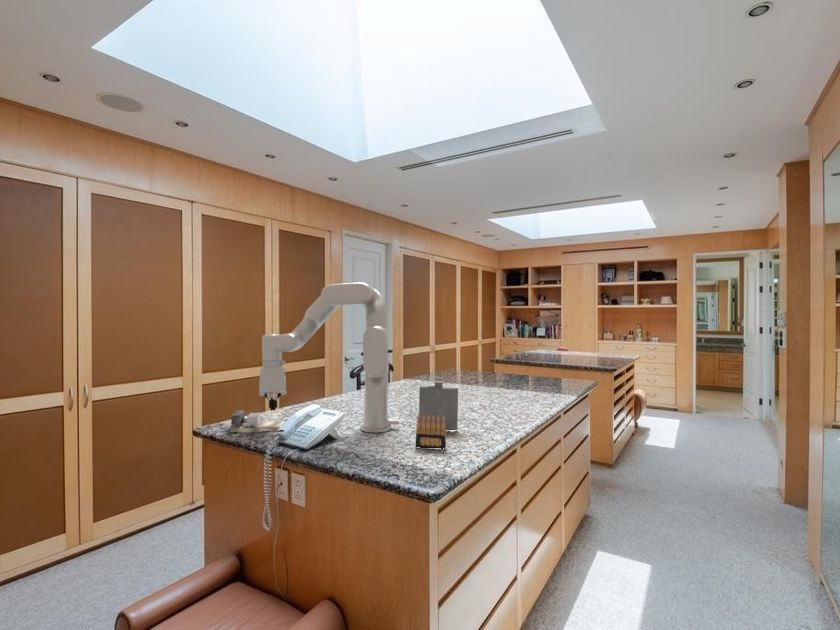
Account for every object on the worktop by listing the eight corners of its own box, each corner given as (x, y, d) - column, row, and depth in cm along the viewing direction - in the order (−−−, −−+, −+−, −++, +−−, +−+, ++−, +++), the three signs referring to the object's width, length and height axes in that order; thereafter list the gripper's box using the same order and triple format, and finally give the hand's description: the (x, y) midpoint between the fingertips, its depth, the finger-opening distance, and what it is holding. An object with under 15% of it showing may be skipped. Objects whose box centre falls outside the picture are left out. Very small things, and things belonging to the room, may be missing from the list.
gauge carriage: (260, 422, 178) (260, 412, 178) (256, 428, 168) (256, 418, 168) (243, 422, 176) (243, 413, 176) (238, 428, 167) (238, 418, 167)
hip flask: (457, 430, 177) (458, 381, 177) (456, 433, 173) (457, 383, 173) (419, 428, 180) (420, 380, 180) (417, 430, 176) (418, 381, 176)
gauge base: (287, 424, 181) (287, 409, 181) (284, 431, 171) (284, 414, 171) (236, 426, 177) (236, 410, 177) (230, 432, 167) (231, 415, 167)
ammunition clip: (415, 448, 152) (415, 414, 152) (416, 446, 154) (416, 413, 154) (445, 450, 151) (446, 415, 151) (445, 448, 153) (446, 414, 153)
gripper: (292, 362, 180) (293, 406, 180) (254, 364, 177) (255, 408, 177) (290, 364, 173) (291, 410, 173) (251, 366, 170) (251, 412, 170)
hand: (273, 409), depth 175 cm, fingers closed
